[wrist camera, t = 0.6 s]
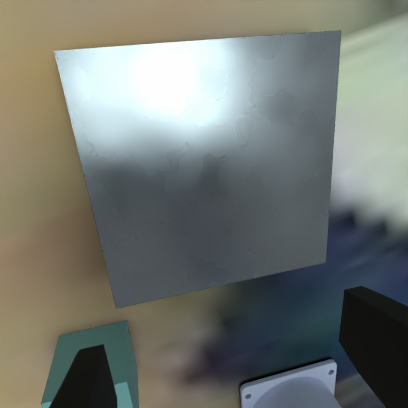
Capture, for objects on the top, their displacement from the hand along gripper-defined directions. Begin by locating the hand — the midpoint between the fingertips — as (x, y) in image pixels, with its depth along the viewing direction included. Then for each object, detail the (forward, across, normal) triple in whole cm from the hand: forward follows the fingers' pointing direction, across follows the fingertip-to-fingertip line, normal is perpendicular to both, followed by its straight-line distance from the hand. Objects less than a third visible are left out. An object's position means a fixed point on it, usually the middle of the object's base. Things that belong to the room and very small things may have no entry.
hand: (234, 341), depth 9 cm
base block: (+10, -2, -3) cm, 10 cm away
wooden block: (+10, +6, +8) cm, 14 cm away
